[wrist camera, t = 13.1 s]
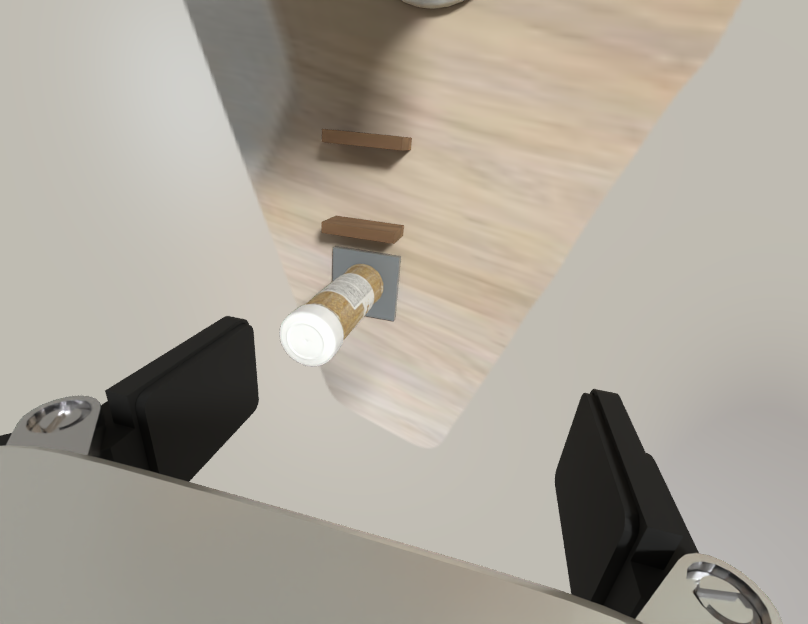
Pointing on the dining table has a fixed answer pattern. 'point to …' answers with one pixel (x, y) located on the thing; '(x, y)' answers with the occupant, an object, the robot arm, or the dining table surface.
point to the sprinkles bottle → (330, 316)
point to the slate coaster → (386, 268)
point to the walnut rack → (359, 226)
